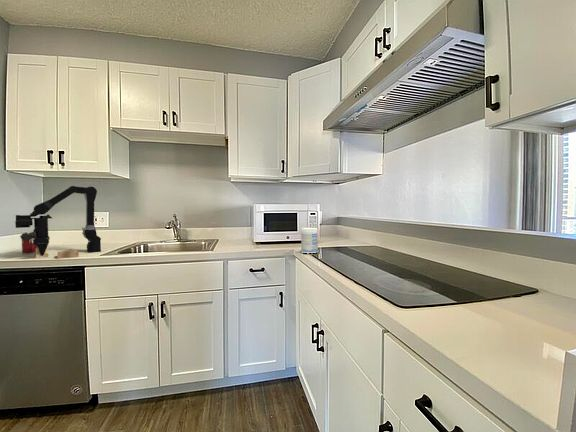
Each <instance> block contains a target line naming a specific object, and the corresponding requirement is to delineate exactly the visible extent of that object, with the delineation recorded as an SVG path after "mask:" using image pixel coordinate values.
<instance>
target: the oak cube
mask: <svg viewBox="0 0 576 432" xmlns="http://www.w3.org/2000/svg"><path fill="white" fill-rule="evenodd" d="M38 257H41V258H49V246H47V248H46V251H45V253H44V255H43V256H41V255H40V251H39V248H36V253H35V258H36V259H38Z"/></svg>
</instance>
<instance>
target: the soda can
mask: <svg viewBox="0 0 576 432" xmlns="http://www.w3.org/2000/svg"><path fill="white" fill-rule="evenodd" d="M21 235H23V233H21V234H20V236H21ZM33 240H34V238H31V239H28V240H26V241H22V240H21V253H22V254H23V255H31V254H33V253H34V254H36V248H38V246H36V245H34V244H33ZM34 254H33V255H34Z"/></svg>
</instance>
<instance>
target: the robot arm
mask: <svg viewBox="0 0 576 432" xmlns="http://www.w3.org/2000/svg"><path fill="white" fill-rule="evenodd" d="M97 193H98V190H97V188H96V187H94V186H87V187H84V186H76V185H71V186H70V185H69V187H68V188H66V189H64V190H62V191H61V192H60V193H58V194H57V195H55V196H53V197H51V198H50V199H48V200H46V201H43V202H41V203H38V204H35V206H34V207H33V211H32V212H31V213H29V214H26V215H25V214H24V215H22V214H21V215H20V214H16V215H15V221H14V224H15V225H14V226H15V229H23V228H31V226H33V228H34V229H33V231H31V232H24V233H23V232H22V234H23V235H21V234H20V236H19V238H20V240H21V242H22V241H26V240H28V239H31V238H34V240H33V244H34V245H36V246H38V248H39V251H40V255H41V256H43V255H44V253H45V251H46V248H47V247H49V244H50V236H49V219H53V217H52V216H51V215H50V214H46V213H48V212H49V211H50V210H51V209H53V207H54V206H56V205H57V204H58V203H61V201H63V200H65V199H67V198H68V197H70V196H71V195H73V194H81V195H82V194H83V196H84V199H85V226H84V227H82V234H81V235H83V238H85V239H87V244H86V252H88V253H97V252H102V247H101V244H102V243H101V240H102V238H101V237H100V236H99V235H97V234H98V233H97V229H96V227H95V201H96V197H97V195H98V194H97ZM37 216H39V217H37Z"/></svg>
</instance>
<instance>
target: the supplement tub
mask: <svg viewBox="0 0 576 432" xmlns="http://www.w3.org/2000/svg"><path fill="white" fill-rule="evenodd" d="M318 231H319V230H318V227H317V228H316V227H302V228H301V237H300V238H301V239H300V240H301V241H300V243H301V246H300V247H301V249H300V250H301V254H303V253H316V252H317V253H318V248H319V246H318V242H319V239H318V238H319V237H318V236H319V235H318V234H319V232H318Z"/></svg>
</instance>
